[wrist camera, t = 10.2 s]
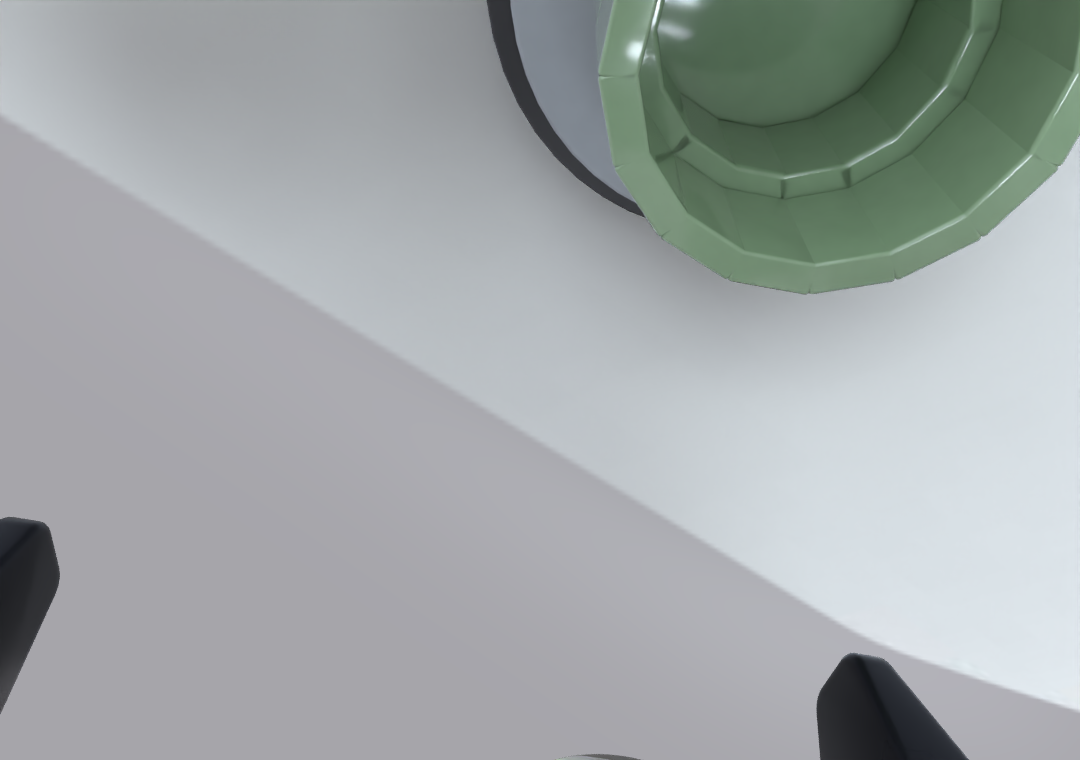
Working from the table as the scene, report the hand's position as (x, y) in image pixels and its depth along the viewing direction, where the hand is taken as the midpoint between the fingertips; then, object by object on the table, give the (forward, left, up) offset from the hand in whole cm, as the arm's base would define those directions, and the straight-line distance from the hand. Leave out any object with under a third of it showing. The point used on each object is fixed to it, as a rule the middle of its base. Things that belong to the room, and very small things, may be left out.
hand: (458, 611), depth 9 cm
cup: (+5, -4, -9) cm, 11 cm away
